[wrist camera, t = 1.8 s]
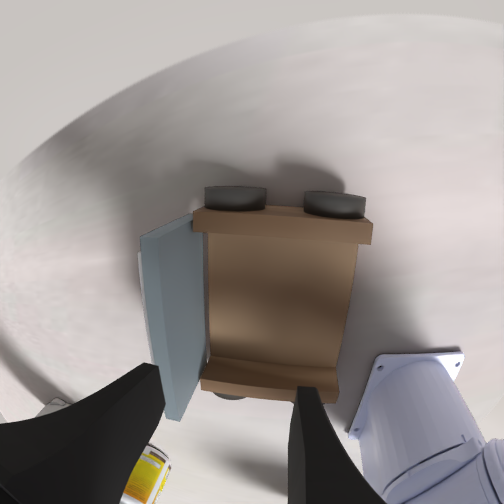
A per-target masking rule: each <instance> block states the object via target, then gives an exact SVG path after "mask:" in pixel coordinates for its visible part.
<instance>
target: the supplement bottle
mask: <svg viewBox="0 0 504 504" xmlns="http://www.w3.org/2000/svg"><path fill="white" fill-rule="evenodd" d="M170 470H171V462H170V460H169V459H168V458H167V457H166V456H165V455H164V454H163V453H161V452H160V451H158V450H156V449H155V448H152V447H150V446H146V447H145V449H144V451H143V453H142V455H141V456H140V458H139V460H138V462H137V463H136V465H135V467H134V469H133V471H132V473H131V475H130V477H129V480H128V482H127V485H126V487H125V490H124V492H123V495H122V498H121V501H120V503H119V504H156V503H157V500H158V498H159V496H160V494H161V491H162V489H163V486H164V484H165V482H166V480H167V477H168V475H169V472H170Z"/></svg>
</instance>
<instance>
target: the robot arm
mask: <svg viewBox="0 0 504 504" xmlns="http://www.w3.org/2000/svg"><path fill="white" fill-rule="evenodd" d="M464 358H465V355H464V353H463V352H461V351H460V352H446V353H427V354H383V355H379V356H378V357H377V358H376V359H375V361H374V365H373V368H372V371H371V374H370V377H369V380H368V383H367V386H366V389H365V392H364V394H363V397H362V400H361V403H360V405H359V408H358V411H357V413H356V416H355V418H354V421H353V423H352V426H351V428H350V431H349V433H348V438H349V439H359V444H360V451H361V458H362V466H363V474H364V477H363V476H362V474H361V473H360V472H359V470H358V469H357V468H356V466H355V465H354V463H353V462H352V460H351V459H350V457H349V456H348V454H347V452H346V450H345V449H344V447H343V445H342V444H341V442H340V440H339V438H338V436H337V434H336V432H335V430H334V428H333V426H332V424H331V422H330V420H329V418H328V416H327V413H326V411H325V409H324V406H323V404H322V401H321V398H320V395H319V392H318V389H317V388H316V387H306V386H297V391H296V397H295V402H294V408H293V413H292V418H291V423H290V432H289V442H288V504H504V439H496V438H495V439H492V440H490V441H489V442H488V443H486V441H485V439H484V437H483V435H482V433H481V431H480V429H479V427H478V425H477V423H476V421H475V419H474V417H473V415H472V413H471V412H470V410H469V408H468V406H467V404H466V402H465V401H464V399H463V397H462V395H461V393H460V392H459V390H458V388H457V386H456V385H455V383H454V380H455V378H456V376H457V374H458V372H459V369H460V367H461V365H462V363H463V360H464ZM457 362H458V363H457ZM381 365H382V367H380V368H378V367H379V366H381ZM165 405H166V402H165V397H164V392H163V387H162V382H161V376H160V371H159V366H157V365H153V364H148V363H142V364H141V365H139V366H137V367H136V368H134V369H133V370H131V371H130V372H128V373H127V374H125V375H123V376H122V377H120V378H119V379H117V380H116V381H114V382H112V383H111V384H109V385H107V386H106V387H104V388H102V389H101V390H99V391H97V392H95V393H94V394H92V395H90V396H88V397H86V398H84V399H82V400H80V401H79V402H76V403H74V404H72V405H70V406H68V407H65V408H63V409H60V410H58V411H55V412H52V413H49V414H46V415H42V416H39V417H35V418H32V419H28V420H23V421H17V422H11V423H3V424H0V504H119V503H120V501H121V498H122V495H123V492H124V490H125V487H126V485H127V482H128V480H129V477H130V475H131V473H132V471H133V469H134V467H135V465H136V463H137V462H138V460H139V458H140V456H141V455H142V453H143V451H144V449H145V447H146V446H147V444H148V442H149V440H150V439H151V437H152V435H153V433H154V431H155V430H156V428H157V426H158V424H159V421H160V419H161V416H162V413H163V411H164V408H165Z"/></svg>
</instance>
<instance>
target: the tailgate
mask: <svg viewBox="0 0 504 504" xmlns="http://www.w3.org/2000/svg"><path fill="white" fill-rule="evenodd" d="M140 246H141V251H140V252H139V253H138V265H139V276H140V286H141V295H142V303H143V311H144V318H145V325H146V332H147V338H148V345H149V350H150V356H151V362H152V364H153V365H157V366H159V371H160V376H161V382H162V387H163V392H164V397H165V402H166V405H165V408H164V411H165V415H166V418H167V419H171V420H175V421H179V422H180V420H181V418H182V416H183V414H184V412H185V410H186V408H187V405H188V403H189V401H190V399H191V397H192V395H193V393H194V390H195V388H196V386H197V384H198V382H199V380H200V377H201V375H202V373H203V371H204V369H205V367H206V365H207V356H206V336H205V313H204V279H203V233H202V232H193V214H188V215H186V216H183V217H181V218H179V219H177V220H175V221H172V222H170V223H168V224H166V225H164V226H161V227H159V228H157V229H155V230H153V231H151V232H149V233H147V234H145V235H142V236H140Z"/></svg>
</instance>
